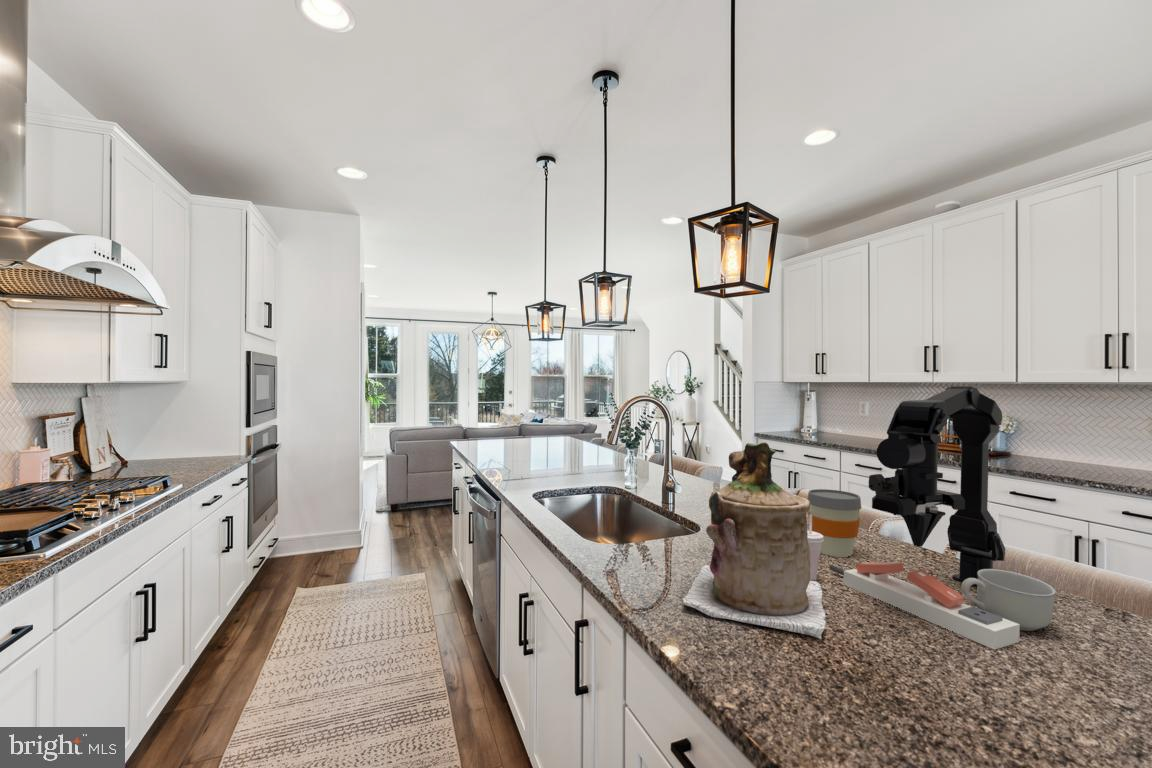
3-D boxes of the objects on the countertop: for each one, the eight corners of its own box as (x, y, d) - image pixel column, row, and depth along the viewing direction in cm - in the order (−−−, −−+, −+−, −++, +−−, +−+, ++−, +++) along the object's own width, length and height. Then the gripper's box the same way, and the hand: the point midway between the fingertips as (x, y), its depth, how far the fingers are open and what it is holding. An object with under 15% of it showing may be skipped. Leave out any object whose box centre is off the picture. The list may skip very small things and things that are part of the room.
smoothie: (826, 584, 107) (827, 519, 107) (795, 581, 108) (796, 517, 108) (818, 573, 113) (819, 512, 113) (788, 570, 114) (789, 510, 114)
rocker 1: (869, 570, 107) (867, 561, 107) (904, 571, 99) (901, 562, 100) (857, 572, 105) (855, 563, 106) (892, 573, 98) (889, 564, 99)
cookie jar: (822, 590, 103) (824, 438, 104) (827, 644, 81) (830, 451, 81) (703, 569, 114) (705, 431, 114) (679, 613, 92) (682, 441, 92)
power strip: (842, 570, 114) (842, 553, 115) (1019, 642, 83) (1019, 618, 83) (820, 574, 112) (820, 557, 112) (994, 649, 80) (994, 625, 80)
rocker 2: (919, 576, 97) (921, 568, 96) (961, 604, 90) (964, 597, 89) (906, 578, 95) (909, 571, 95) (948, 607, 88) (952, 600, 88)
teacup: (1034, 615, 93) (1035, 573, 93) (1070, 643, 83) (1070, 595, 83) (947, 603, 98) (947, 563, 98) (970, 628, 88) (971, 583, 88)
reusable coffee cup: (800, 542, 136) (801, 488, 136) (848, 545, 134) (849, 490, 134) (815, 558, 123) (816, 498, 123) (869, 561, 121) (870, 500, 121)
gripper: (910, 458, 106) (909, 530, 106) (847, 461, 100) (846, 538, 99) (967, 466, 96) (966, 546, 96) (902, 470, 89) (900, 556, 89)
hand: (917, 546), depth 95 cm, fingers closed
